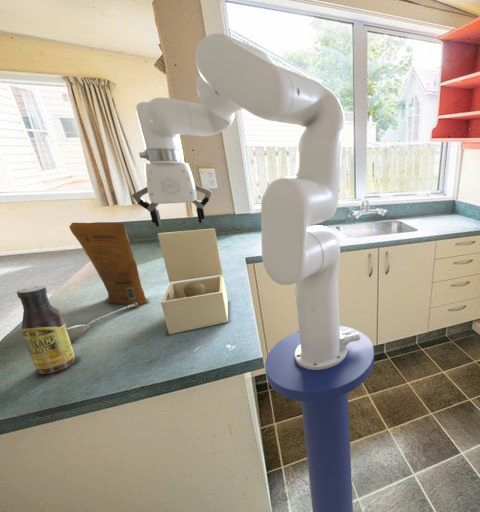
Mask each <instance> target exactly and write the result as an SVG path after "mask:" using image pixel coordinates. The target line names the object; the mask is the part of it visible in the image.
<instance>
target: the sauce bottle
mask: <svg viewBox="0 0 480 512" xmlns="http://www.w3.org/2000/svg"><path fill="white" fill-rule="evenodd" d="M47 293H48V290H47V287H46V286H45V285H40V284H39V285H31V286H26V287H21V288H20V289H18V290H17V291H16V294H17V297H18V298H19V300H20V301H21V305H22V309H23V311H22V312H23V313H22V315H23V316H22V323H21V333H22V335H23V338H24V340H25V343H26V347H27V350H28V352H29V355H30V358H31V360H32V362H33V365H34V368H35V369H36V371H37V373H39V374H41V375H49V374H54V373H58V372H61V371H63V370H65V369H67V368H68V367H70V366H71V365H72V364H74V362H75V360H76V359H75V352H74V349H73V346H72V342H70V339H69V336H68V333H67V330H66V329H67V327H66V323H65V321H64V320H63V316H62V313H61V311H60V310H58V309H57V308H55V307H53V306H52V305H51V302H50V301H49V298H48V295H47Z"/></svg>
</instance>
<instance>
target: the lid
mask: <svg viewBox="0 0 480 512" xmlns="http://www.w3.org/2000/svg"><path fill="white" fill-rule="evenodd" d="M157 237H158V241H159V245H160V249H161V254H162V257H163V261H164V267H165V270H166V275H167V278H168V282H169V283H176V282H183V281H189V280H196V279H203V278H210V277H217V276H224V275H223V273H224V272H223V267H222V262H221V256H220V249H219V245H218V244H219V243H218V239H217V234H216V228H215V227H214V228H205V229H203V228H202V229H191V230H180V231H169V232H158V233H157Z"/></svg>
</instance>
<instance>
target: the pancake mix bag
mask: <svg viewBox="0 0 480 512" xmlns="http://www.w3.org/2000/svg"><path fill="white" fill-rule="evenodd" d="M68 227H69V231H70V232H71V233H72V235H73V236H74V237H75V239H76V240H77V241H78V243H79V244H80V246H81V248H82V249H83V251H84V253H85V254H86V256H87V257H88V259H89V261H90V262H91V264H92V265H93V268H94V269H95V270H96V271H95V272H97V274H98V277H99V278H100V280H101V281H102V283H103V285H104V288H105V290H106V292H107V303H109V304H117V305H126V306H129V305H132V304H133V303H134V302H136V303H137V304H138V306H140V305H145V304H148V300H147V298H146V294H145V291H144V289H143V287H142V282H141V279H140V275H139V270H138V263H137V262H136V261H137V260H136V258H135V256H134V252H133V249H132V246H131V243H130V238H129V235H128V231H127V224H124V223H121V222H114V221H112V222H111V221H105V222H103V221H99V222H97V221H96V222H95V221H94V222H71V224H70V225H68Z"/></svg>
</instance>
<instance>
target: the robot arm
mask: <svg viewBox="0 0 480 512" xmlns="http://www.w3.org/2000/svg"><path fill="white" fill-rule="evenodd" d="M195 63H196V69H197V71H198V73H199V76H198V77H197V79H196V91H197V94H198V96H199V98H200V100H201V102H202V103H198V102H197V103H196V102H192V101H186V100H181V99H173V98H169V97H155V98H153V99H150V100H149V101H141V102H138V103H137V104H136V107H135V110H136V111H135V112H136V116H137V119H138V123H139V128H140V132H141V136H142V141H143V143H144V151H142V152H139V153H138V155H139V158H140V159H144V160H145V159H146V160H147V162H148V163H147V162H146V163H144V176H145V183H146V186H145V187H143V188H142V189H140V190H137V191H136V192H134V193H132V194H131V197H132V198H133V199H134V201H136V202H137V203H138V205H139V206H140V207H142V208H144V209H146V210H147V211H148V212H149V214H150V218H151V222H152V224H155V227H158V228H159V227H161V226H162V220H161V216H160V211H159V210H158V209H157V207H158V206H159V205H165V204H180V203H181V204H184V203H193V205H195V206H196V215H197V220H198V223H199V224H203V222H204V220H206V215H205V211H204V207H205V206H206V205H207V204H208V202H209V201H210V198H211V196H212V193H213V191H212V190H210V189H207V188H205V187H203V186H200V185H197V184H196V183H195V179H194V177H193V173H192V170H191V168H190V165H189V163H188V162H185V157H184V152H183V148H182V147H183V146H182V141H181V138H180V136H192V137H193V136H195V137H211V136H216V135H217V134H219V133H222V132H223V131H226V130H227V129H229V128H230V127H231V126H232V124H233V122H234V118H235V115H236V113H238V112H239V111H242V110H243V109H244V110H245V111H247V112H249V113H251V114H252V115H254V116H256V117H258V118H260V119H263V120H267V121H271V122H278V123H283V124H291V125H298V126H301V127H303V128H304V130H303V133H302V134H301V137H300V138H299V141H298V144H297V146H296V147H297V148H296V151H295V152H296V153H295V159H296V161H295V162H296V163H295V172H294V175H292V176H283V177H279V178H276V179H275V180H273V181H271V182H270V183H269V184H268V185H267V187H266V189H265V190H264V193H263V196H262V199H261V205H260V220H261V221H260V224H261V225H260V228H261V231H260V232H261V259H262V264H263V267H264V270H265V272H266V274H267V276H268V277H269V278H270V280H272V281H273V282H275V283H276V284H279V285H282V286H290V285H295V287H294V288H295V289H294V293H295V305H296V314H297V323H298V331H299V335H300V345H299V346H298V347H297V348H296V350H295V360H296V362H297V364H299V365H300V366H301V367H303V368H306V369H310V370H322V369H327V368H330V367H333V366H335V365H337V364H339V363H340V362H341V361H342V360H343V359H344V358H345V357H346V355H347V345H348V343H349V342H354V341H358V340H359V339H360V337H359V334H358V333H354V334H351V331H350V330H348V331H345V332H340V326H341V324H340V322H341V321H340V305H339V304H340V303H339V302H340V301H339V269H340V259H341V245H340V241H339V238H338V236H337V234H336V233H335V232H334V231H333V229H331V228H328V227H327V226H324V225H316V224H321V223H324V222H325V221H328V220H330V219H331V218H332V217H333V216H334V215H335V214H336V212H337V209H338V204H339V193H340V192H339V191H340V179H341V170H342V169H341V165H342V151H343V143H344V137H345V127H346V123H345V122H346V119H345V114H344V109H343V106H342V104H341V102H340V100H339V99H338V97H337V96H336V95H335V94H334V92H333V91H332V90H330V89H329V88H328V87H327V86H325V85H324V84H323V83H321V82H319V81H316V80H315V79H314V78H313V79H312V78H311V77H308V76H306V75H303V74H301V73H299V72H295V71H292V70H291V69H290V70H289V69H287V68H284V67H282V66H280V65H277V64H275V62H274V61H273V59H271V57H270V56H269V55H267V54H266V53H265V52H264V51H262V50H260V49H259V48H257V47H254V46H252V45H250V44H248V43H246V42H244V41H240V40H238V39H236V38H234V37H231V36H229V35H226V34H224V33H211V34H208V35H206V36H205V37H203V39H201V40H200V42H199V43H198V45H197V48H196V51H195ZM199 192H200V193H202V194H204V197H203V199H202V200H199V198H198V193H199ZM146 194H148V199H149V201H150V203H149V202H148V201H146V200H145V199H144V198H143V196H145V195H146Z"/></svg>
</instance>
